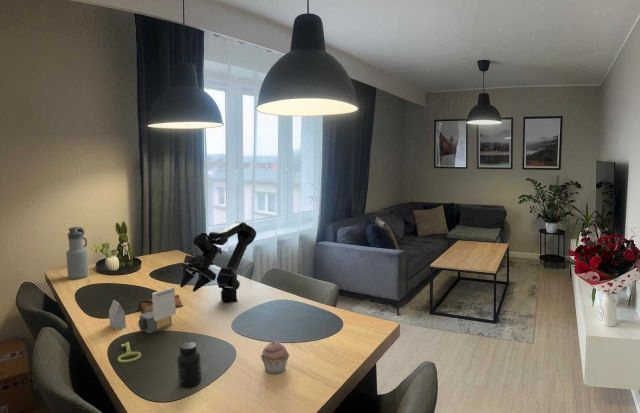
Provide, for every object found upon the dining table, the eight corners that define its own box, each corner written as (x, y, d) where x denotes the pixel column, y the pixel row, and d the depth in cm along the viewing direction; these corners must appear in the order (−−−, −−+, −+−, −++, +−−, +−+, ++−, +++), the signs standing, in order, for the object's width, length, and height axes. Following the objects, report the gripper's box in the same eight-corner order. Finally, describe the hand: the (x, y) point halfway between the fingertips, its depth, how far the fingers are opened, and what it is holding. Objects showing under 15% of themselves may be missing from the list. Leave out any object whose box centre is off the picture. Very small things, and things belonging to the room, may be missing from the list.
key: (128, 346, 149) (128, 340, 148) (143, 358, 140) (143, 352, 140) (107, 353, 143) (107, 347, 143) (121, 366, 135) (121, 360, 135)
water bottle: (76, 273, 235) (73, 225, 231) (92, 274, 234) (89, 226, 230) (64, 279, 225) (59, 229, 221) (80, 279, 224) (76, 229, 220)
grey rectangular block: (163, 321, 169) (162, 307, 169) (171, 325, 166) (171, 310, 165) (137, 330, 161) (136, 316, 160) (146, 334, 157) (145, 319, 156)
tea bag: (116, 330, 161) (114, 305, 160) (109, 324, 166) (108, 301, 165) (125, 327, 164) (124, 303, 163) (119, 322, 169) (117, 298, 167)
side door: (173, 313, 166) (172, 287, 164) (176, 314, 165) (175, 287, 163) (153, 320, 159) (152, 293, 157) (155, 321, 158) (154, 294, 156)
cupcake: (261, 362, 137) (261, 334, 135) (289, 361, 137) (289, 333, 136) (259, 377, 127) (258, 347, 126) (289, 377, 128) (288, 346, 127)
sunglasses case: (142, 314, 176) (140, 299, 178) (140, 318, 181) (138, 303, 183) (185, 306, 186) (182, 291, 188) (181, 309, 192) (178, 295, 194)
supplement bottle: (192, 374, 129) (190, 338, 128) (206, 381, 126) (205, 343, 124) (173, 384, 124) (171, 346, 122) (187, 391, 120) (186, 353, 118)
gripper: (182, 244, 178) (161, 275, 171) (207, 249, 166) (185, 283, 159) (200, 258, 185) (180, 288, 178) (225, 264, 173) (205, 297, 166)
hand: (187, 289), depth 170 cm, fingers open, 9 cm apart
